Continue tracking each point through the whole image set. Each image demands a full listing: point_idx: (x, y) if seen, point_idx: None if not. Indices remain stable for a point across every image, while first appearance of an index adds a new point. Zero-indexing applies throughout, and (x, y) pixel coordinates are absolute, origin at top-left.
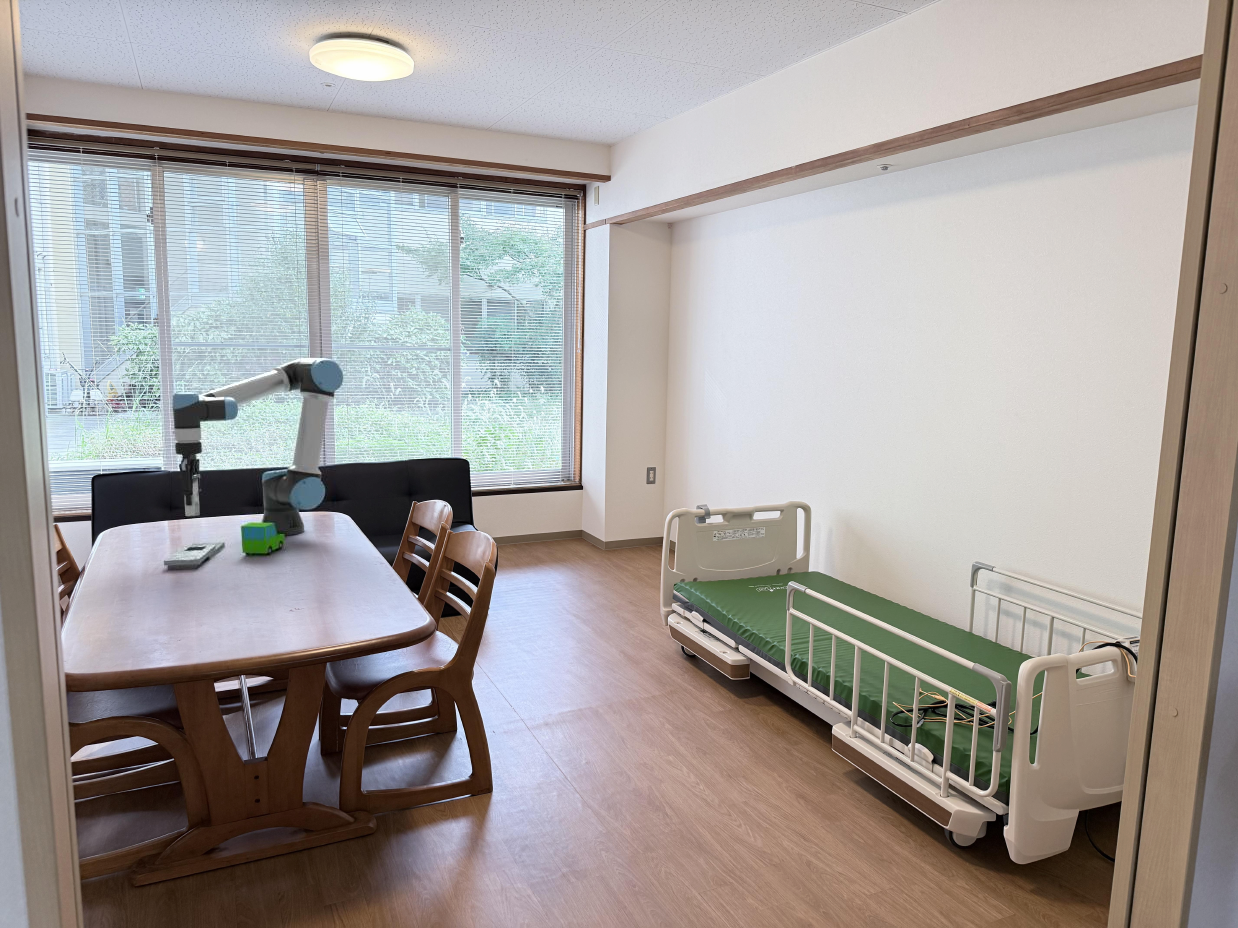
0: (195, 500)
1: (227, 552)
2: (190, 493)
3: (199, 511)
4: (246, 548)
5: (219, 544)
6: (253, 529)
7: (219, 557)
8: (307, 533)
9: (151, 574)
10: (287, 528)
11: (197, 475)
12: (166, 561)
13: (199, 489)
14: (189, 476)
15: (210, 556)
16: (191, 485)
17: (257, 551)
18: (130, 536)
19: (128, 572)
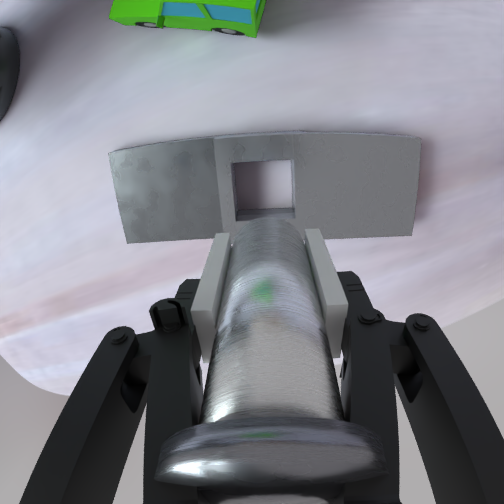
0: (302, 273)
1: (196, 106)
2: (427, 315)
3: (216, 235)
4: (259, 20)
5: (139, 155)
6: None
7: (269, 108)
8: (4, 11)
9: (428, 240)
10: (2, 39)
11: (341, 463)
12: (411, 227)
13: (154, 322)
14: (486, 450)
15: (288, 131)
16: (391, 377)
17: None
18: (72, 376)
19: (392, 296)
